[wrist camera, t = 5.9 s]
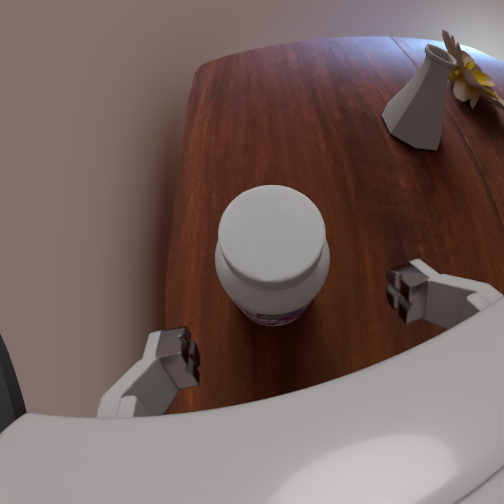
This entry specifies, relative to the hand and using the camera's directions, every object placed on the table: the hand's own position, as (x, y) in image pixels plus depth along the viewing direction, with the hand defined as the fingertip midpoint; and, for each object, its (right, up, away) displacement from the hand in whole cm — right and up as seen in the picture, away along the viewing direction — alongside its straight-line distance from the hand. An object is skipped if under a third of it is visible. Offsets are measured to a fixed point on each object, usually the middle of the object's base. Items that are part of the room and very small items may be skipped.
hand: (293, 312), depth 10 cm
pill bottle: (0, 0, +9) cm, 9 cm away
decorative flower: (+30, +26, +16) cm, 43 cm away
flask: (+15, +16, +13) cm, 26 cm away
